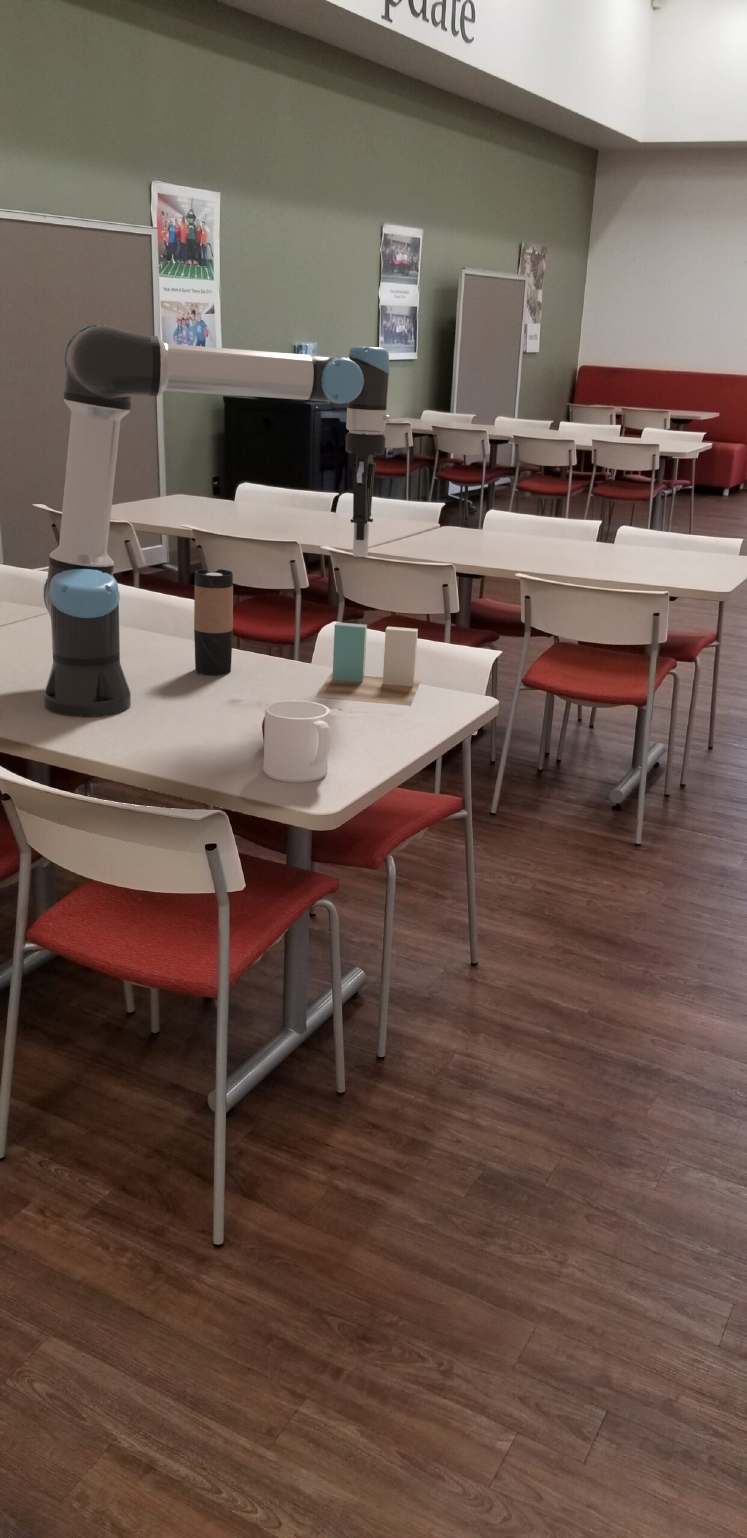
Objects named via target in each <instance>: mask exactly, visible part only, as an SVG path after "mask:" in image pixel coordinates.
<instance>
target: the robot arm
mask: <svg viewBox="0 0 747 1538" xmlns="http://www.w3.org/2000/svg"><path fill="white" fill-rule="evenodd" d="M63 357H64V358H63V359H64V360H63V361H64V367H65V369H66V370H65V380H64V391H63V402H64V403H65V404H66V406H67V407H68V408H69V409H70V413H71V414H70V423H69V435H68V447H67V455H66V457H67V458H66V468H65V480H64V489H63V500H62V510H61V511H62V512H61V522H60V530H59V531H60V533H59V534H60V535H59V544H58V546H57V547H56V548H55V549H54V550H52V551H51V552H50V553H49V558H48V559H49V561H48V568H47V569H48V570H47V571H48V572H47V578H46V579H45V583H44V586H43V602H44V605H45V607H46V610H47V612H48V614H49V616H50V621H51V642H52V643H51V645H52V647H51V648H52V666H51V669H50V672H49V677H48V679H47V683H46V685H45V686H46V687H45V689H44V693H43V694H44V695H43V698H44V699H43V701H44V702H43V703H44V708H45V709H46V710H48V711H50V712H52V713H54V714H58V715H63V716H71V717H100V716H101V717H102V716H108V715H114V714H118V713H121V712H123V711H125V710H127V709H128V708H130V707H131V704H132V703H131V702H132V701H131V696H132V694H131V690H130V688H129V685H128V681H127V678H126V676H125V673H124V671H123V668H122V665H121V653H120V652H121V651H120V650H121V649H120V644H121V643H120V612H119V611H120V607H119V606H120V605H119V603H120V599H121V597H120V595H121V594H120V591H119V585H118V584H119V583H118V581H117V580H116V579H115V577H114V566H115V562H114V560H113V559H112V558H111V557H110V555H109V554H108V545H109V544H108V543H109V533H110V527H111V526H110V524H111V516H112V504H113V496H114V487H115V476H116V470H117V469H116V467H117V456H118V449H119V448H118V447H119V438H120V430H121V429H120V428H121V421H122V420H123V418H124V417H126V416H127V415H128V414H129V413H130V412H131V409H132V408H131V407H132V399H133V397H144V396H145V397H147V396H148V397H159V396H160V395H162V394H163V393H164V392H182V393H193V394H195V393H196V394H209V395H210V394H211V395H224V396H225V395H227V396H241V397H255V398H256V397H257V398H258V397H259V398H270V399H271V398H274V399H290V400H306V401H307V400H308V401H314V402H315V401H316V402H332V403H335V404H339V405H340V404H343V405H344V404H347V406H346V422H345V423H346V424H345V428H346V430H349V431H348V432H347V433H346V435H345V451H346V453H349V454H354V455H356V460H355V463H353V464H352V481H353V482H352V484H353V488H352V489H353V492H352V493H353V495H352V500H353V501H352V502H353V503H352V513H353V514H352V519H350V523H352V524H353V545H352V556H353V557H359V558H361V557H363V558H367V557H368V554H369V553H368V551H369V535H370V533H369V532H370V523H373V522H374V518H373V517H372V506H373V505H372V503H373V492H374V491H373V490H374V484H375V482H374V481H375V473H376V471H377V470H376V468H377V467H376V466H377V465H376V463H374V457H373V456H382V455H383V454H385V451H386V450H385V449H386V435H385V434H384V433H383V432H385V431H386V427H387V422H386V421H390V415H389V414H388V415H387V409H388V408H387V407H388V406H387V403H388V393H389V392H388V391H389V390H388V389H389V378H390V353H389V351H388V350H387V349H386V348H385V347H378V346H376V347H375V346H357V345H356V346H355V345H354V346H353V345H352V346H351V347H350V348H349V354H348V356H330V355H322V354H321V355H318V354H308V353H307V354H306V353H304V354H303V353H302V354H300V353H299V354H298V353H287V352H275V351H263V350H252V349H239V348H228V347H214V346H213V347H212V346H201V345H200V346H199V345H191V344H189V345H188V344H179V343H176V344H175V343H167V342H164V341H163V340H162V338H161V337H160V336H155V335H145V334H140V333H135V332H130V331H128V330H123V329H121V328H117V327H115V326H110V325H104V324H102V325H100V324H93V325H86V326H85V327H82V328H81V329H79V330H78V331H77V332H75V333H74V334H73V335H72V336H71V338H69V341H68V343H67V345H66V347H65V351H64V356H63ZM371 517H372V518H371Z"/></svg>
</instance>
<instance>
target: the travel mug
mask: <svg viewBox="0 0 747 1538" xmlns="http://www.w3.org/2000/svg"><path fill="white" fill-rule="evenodd" d="M233 573H234V572H233V571H230V570H227V569H217V570H215V571H208V570H207V569H204V568H202V569H198V570H195V571H194V600H193V601H194V603H193V604H194V607H193V608H194V610H193V611H194V612H193V613H194V614H193V615H194V616H193V617H194V618H193V619H194V620H193V621H194V622H193V633H194V635H193V636H194V637H193V638H194V667H195V672H196V673H198V674H201V675H205V676H222V675H226V674H230V673H231V671H232V658H233V657H232V655H233V654H232V653H233V633H234V632H233V631H234V630H233V629H234V627H233V625H234V615H233V614H234V610H233V609H234V600H233V599H234V575H233Z"/></svg>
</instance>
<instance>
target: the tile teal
mask: <svg viewBox="0 0 747 1538" xmlns="http://www.w3.org/2000/svg"><path fill="white" fill-rule="evenodd" d="M367 630H368V624H361V623H351V622H350V623H349V622H339V621H337V622H335V624H334V632H333V633H334V634H333V652H332V653H333V654H332V655H333V658H332V660H333V661H332V673H333V677H332V680H342V681H353V682H363V681H364V675H365V674H366V673H365V672H366V671H365V669H366V655H367V654H366V650H367V647H366V646H367V636H368V634H367V632H368V631H367ZM365 676H366V675H365Z"/></svg>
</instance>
